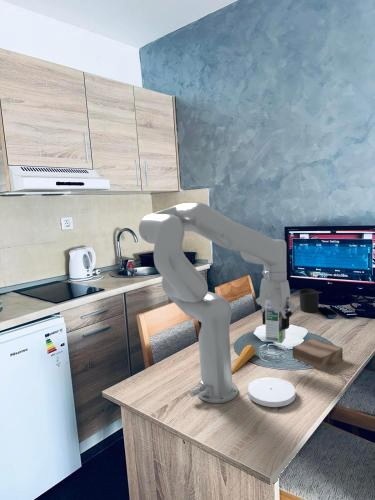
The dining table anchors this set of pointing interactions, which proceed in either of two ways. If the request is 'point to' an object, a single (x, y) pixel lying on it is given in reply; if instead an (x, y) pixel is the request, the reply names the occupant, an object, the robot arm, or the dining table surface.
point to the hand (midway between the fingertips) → (275, 325)
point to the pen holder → (309, 300)
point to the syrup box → (273, 324)
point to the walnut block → (318, 354)
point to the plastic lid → (271, 392)
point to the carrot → (244, 357)
